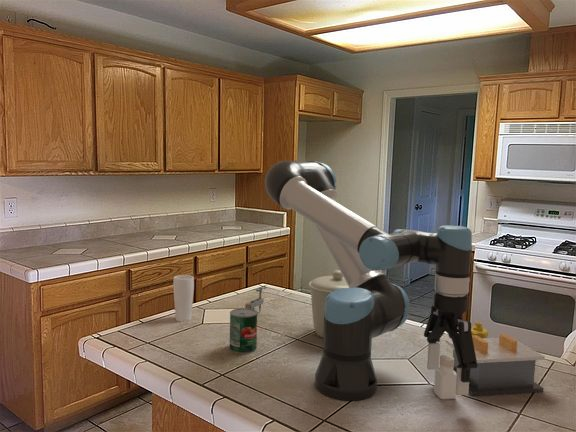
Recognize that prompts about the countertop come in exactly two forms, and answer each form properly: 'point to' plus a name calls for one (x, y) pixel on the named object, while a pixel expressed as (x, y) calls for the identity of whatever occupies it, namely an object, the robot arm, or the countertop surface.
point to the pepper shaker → (445, 378)
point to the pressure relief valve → (479, 330)
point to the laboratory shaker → (501, 367)
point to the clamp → (256, 300)
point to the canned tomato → (243, 330)
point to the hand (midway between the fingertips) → (446, 380)
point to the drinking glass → (183, 297)
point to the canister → (324, 296)
